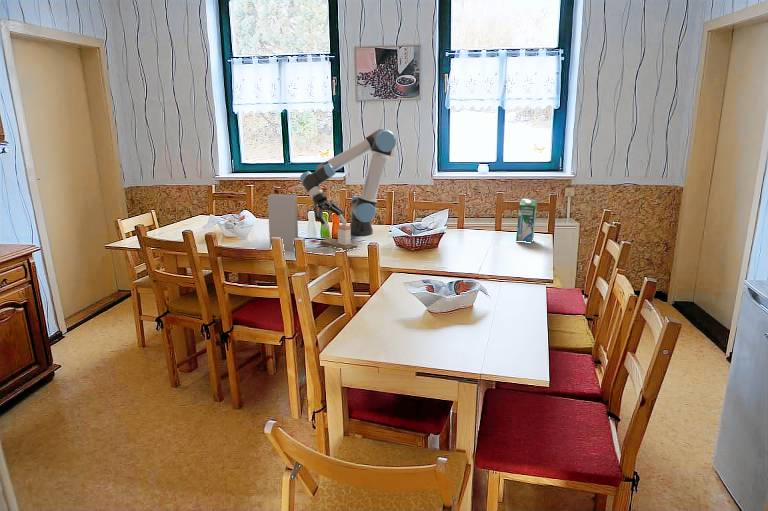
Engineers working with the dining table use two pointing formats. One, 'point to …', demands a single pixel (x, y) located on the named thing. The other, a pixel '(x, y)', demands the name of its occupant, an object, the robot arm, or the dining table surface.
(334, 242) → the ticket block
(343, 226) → the stub
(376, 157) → the robot arm
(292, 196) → the tall grey block
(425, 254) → the dining table surface
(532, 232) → the milk carton
